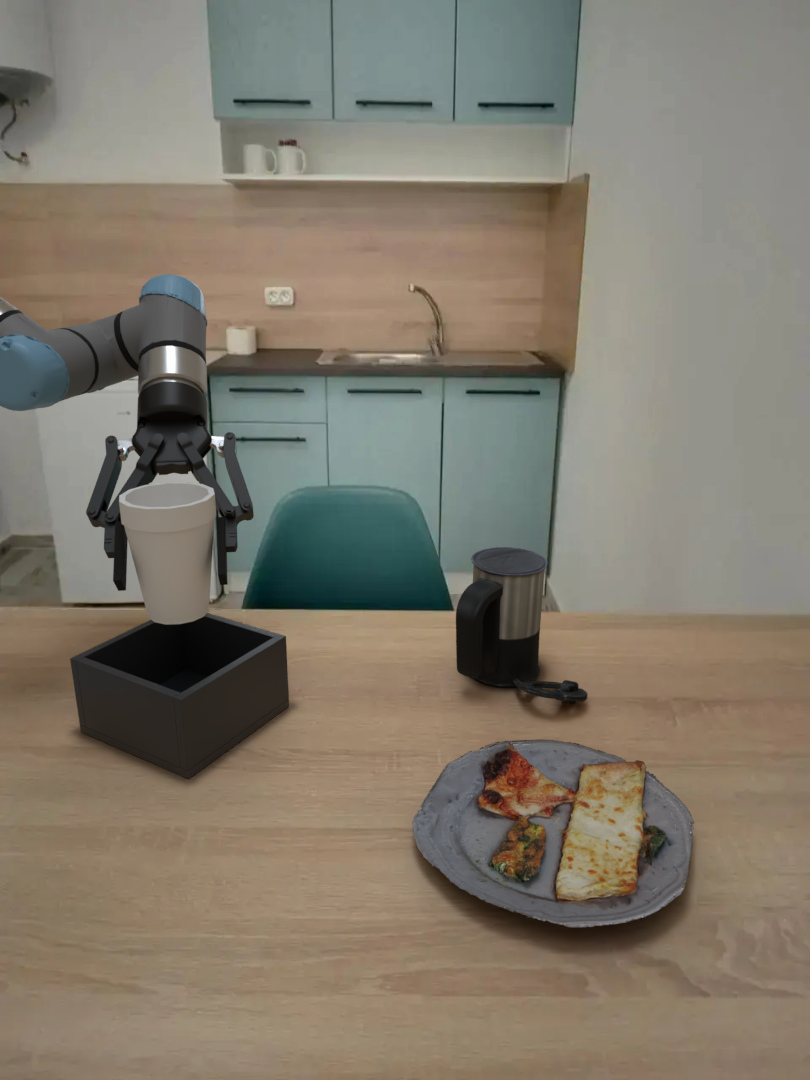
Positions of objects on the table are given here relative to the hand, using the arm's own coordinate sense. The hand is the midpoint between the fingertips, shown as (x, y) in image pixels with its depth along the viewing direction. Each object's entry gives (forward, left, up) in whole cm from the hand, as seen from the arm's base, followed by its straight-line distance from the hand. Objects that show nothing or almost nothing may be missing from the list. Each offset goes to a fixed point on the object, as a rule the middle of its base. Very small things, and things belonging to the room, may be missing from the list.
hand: (171, 582), depth 84 cm
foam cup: (-2, +2, -5) cm, 6 cm away
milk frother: (+27, +29, -18) cm, 44 cm away
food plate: (+40, +5, -18) cm, 44 cm away
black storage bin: (-2, +2, -18) cm, 18 cm away
